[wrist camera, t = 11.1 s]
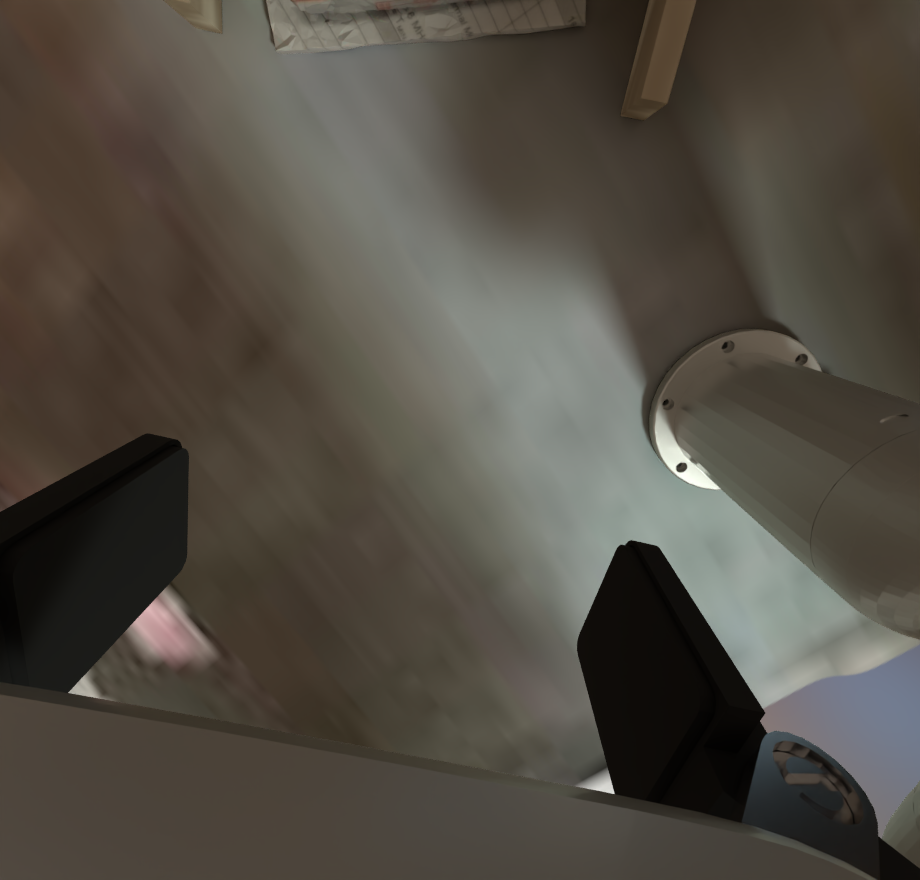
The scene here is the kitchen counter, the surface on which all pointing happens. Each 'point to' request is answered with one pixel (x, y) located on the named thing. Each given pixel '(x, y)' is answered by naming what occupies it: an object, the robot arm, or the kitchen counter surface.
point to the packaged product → (410, 21)
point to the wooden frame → (650, 66)
